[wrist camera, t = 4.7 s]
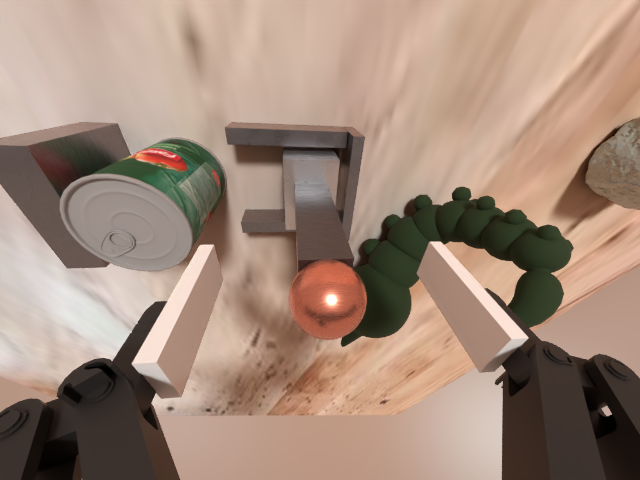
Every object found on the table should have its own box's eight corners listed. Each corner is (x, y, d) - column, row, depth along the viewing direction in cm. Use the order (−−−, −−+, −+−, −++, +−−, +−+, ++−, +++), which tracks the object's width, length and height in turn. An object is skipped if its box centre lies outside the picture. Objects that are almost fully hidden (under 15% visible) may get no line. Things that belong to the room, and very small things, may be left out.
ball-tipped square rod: (326, 206, 28) (372, 367, 12) (286, 207, 28) (280, 375, 12) (331, 146, 24) (408, 271, 8) (284, 145, 24) (270, 276, 8)
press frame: (341, 218, 30) (357, 263, 22) (130, 220, 27) (70, 272, 20) (352, 127, 24) (379, 148, 16) (78, 116, 21) (-39, 135, 13)
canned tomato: (178, 119, 22) (98, 146, 13) (241, 181, 26) (215, 234, 17) (131, 170, 24) (35, 225, 15) (196, 220, 28) (152, 286, 19)
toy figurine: (415, 157, 28) (307, 293, 37) (602, 228, 12) (330, 439, 20) (458, 195, 32) (351, 309, 40) (644, 288, 16) (399, 444, 24)
